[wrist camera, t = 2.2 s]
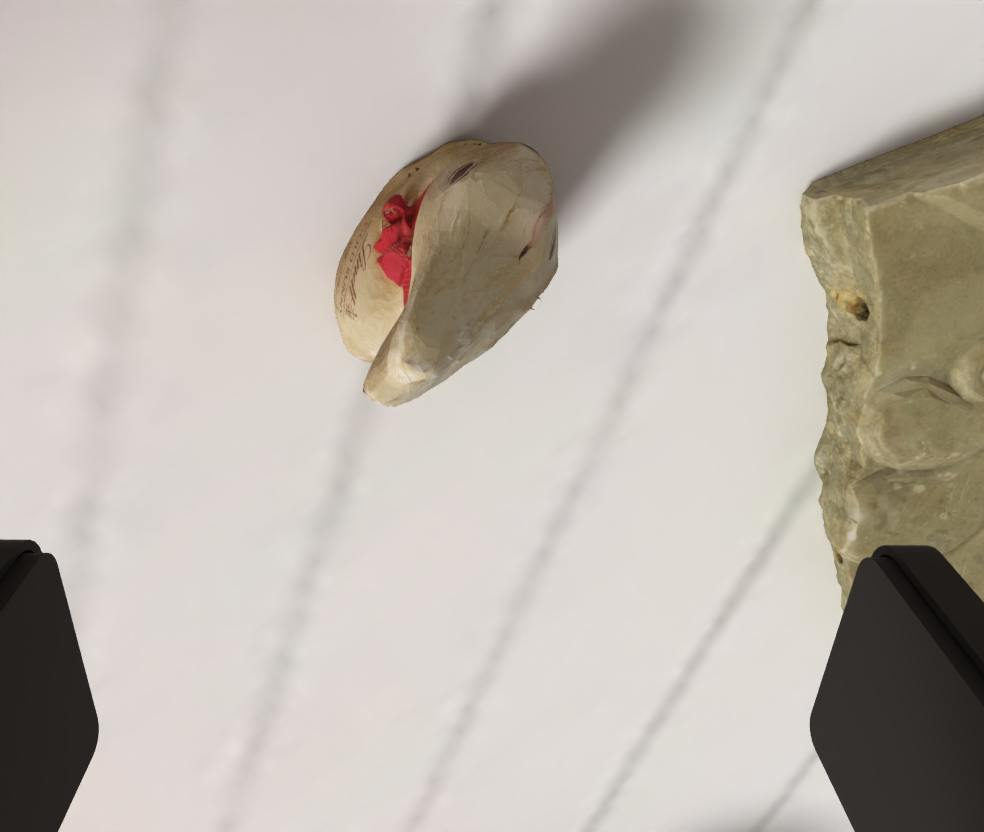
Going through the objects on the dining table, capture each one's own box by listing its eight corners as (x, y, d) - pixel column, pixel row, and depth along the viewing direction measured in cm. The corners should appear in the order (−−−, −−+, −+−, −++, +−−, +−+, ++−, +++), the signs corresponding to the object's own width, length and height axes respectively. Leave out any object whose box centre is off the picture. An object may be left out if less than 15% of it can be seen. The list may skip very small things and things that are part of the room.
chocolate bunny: (584, 264, 26) (663, 410, 17) (367, 369, 27) (334, 556, 18) (510, 97, 23) (557, 164, 14) (274, 220, 24) (184, 352, 15)
